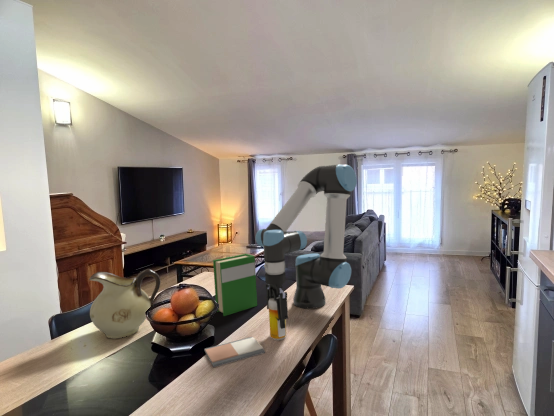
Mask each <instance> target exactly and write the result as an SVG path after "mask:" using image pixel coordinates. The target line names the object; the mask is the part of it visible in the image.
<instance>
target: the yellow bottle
mask: <svg viewBox="0 0 554 416" xmlns="http://www.w3.org/2000/svg"><path fill="white" fill-rule="evenodd" d="M268 303H269V309H268V319H269V320H268V321H269V337H270V338H271V339H272V340H274V341H282V340H284V339H285V338H286V336H282V337H278V321H277V319H279V318H278V312H277V303H276V301H275V300H274V298H269V301H268ZM285 329H286V330H287V319H285Z"/></svg>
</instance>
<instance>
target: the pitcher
mask: <svg viewBox="0 0 554 416" xmlns="http://www.w3.org/2000/svg"><path fill="white" fill-rule="evenodd" d="M146 277H152V278H153V279H154V281H155V287H154V290H153V291H152V293H151V295H150V296H149V294H148V293H147V292H146V291H145V290H143V289H142V288H141V287H142V282H143V279H145V278H146ZM89 281H94V282H98V283H100V284H101V285H102V286H103V288H102V291H100V293H99V294H98V295H97V297H96V298H94V301H93V302H92V304H91V306H90V309H89V317H90V320H91V322H92V324H93V325H94V326H95V327H96V328H97V329H98V330H99V331H100V332H102V333H104V334H105V337H106V338H108V337H109V339H122V337H123V338H126V336H127V337H130V336H131V335H134V334H135V333H137V332H138V331H139V330H140V327H141V326H142V324H143V323H144V322H146V321H145V320H147V318H146V316H145V312H146V311H147V310H148V309H149V308H150V307H151V305H152V303H153V304H154V301H155V297H156V295H157V294H158V292H159V290H160V287H161V278H160V275H159V274H158V273H157V272H156V271H154V270H152V269H150V268H147V269H145V270H143V271H142V270H141V272H139V273H138V274H137V275H136V277H135V276H134V277H132V278H129V277H128V278H126V277H122V276H119V275H117V274H116V275H115V274H114V273H111V272H107V271H97V272H96V273H94V274H92V275H91V276H90V277H89ZM129 335H130V336H129Z"/></svg>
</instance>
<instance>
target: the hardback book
mask: <svg viewBox="0 0 554 416" xmlns="http://www.w3.org/2000/svg"><path fill="white" fill-rule="evenodd" d="M255 257H256V256H255V255H253V254H249V253H242V254H238V255H232V256H228V257H224V258H218V259H213V260H212V264H213V279H214V280H213V281H214V293H215V297H214V298H215V303H216V302H217V303H218V304H219V308H218V311H217V312H216V313H219V312H221V313H222V316H223V317H227V316H229V315H232V314H236V313H238V312H242V311H245V310H248V309H252V308H255V307H257V306H258V295H257V294H258V293H257V277H256V276H257V275H256V258H255Z"/></svg>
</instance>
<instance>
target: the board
mask: <svg viewBox="0 0 554 416" xmlns="http://www.w3.org/2000/svg"><path fill="white" fill-rule="evenodd" d="M204 352H205V355H206V356H207V358H208V360H209V362H210V363H211V365H212V368H216V367H220V366H223V365H225V364H226V365H227V364H230V363H232V362H233V363H234V362H237V361H240V360H244V359H247V358H251V357H253V356H258V355H261V354H265V353H266V351H265V349H264V347H263V345H261V344H260V343H259V341H258V340H257V339H256V338H255V337H253V336H250V337H245V338H242V339H238V340H234V341H231V342H225V343H221V344H218V345H214V346H210V347H206V348H204Z"/></svg>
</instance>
